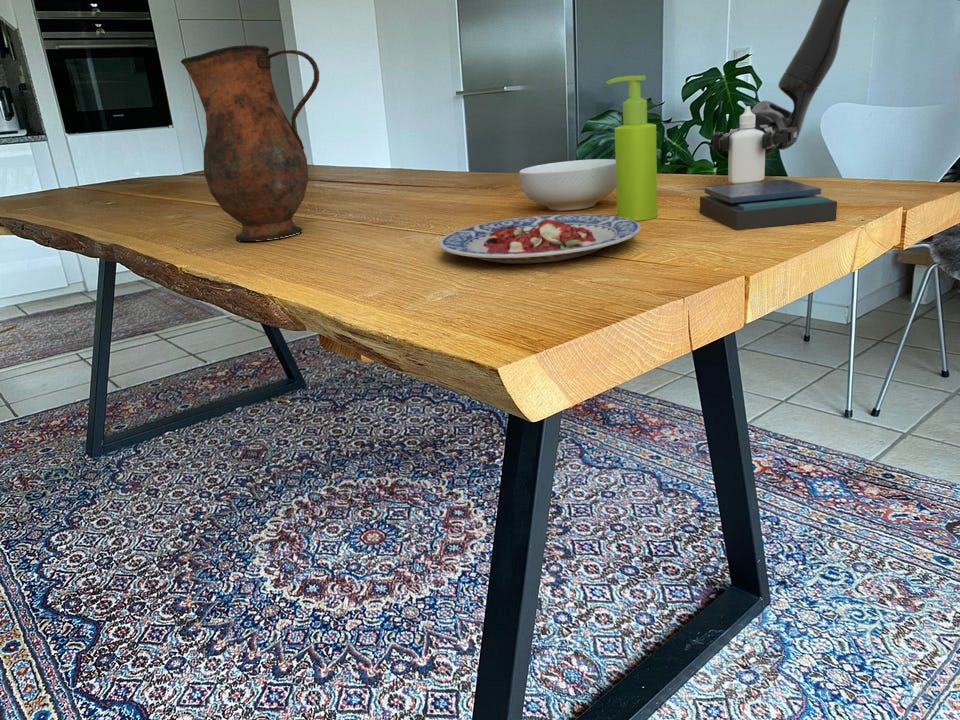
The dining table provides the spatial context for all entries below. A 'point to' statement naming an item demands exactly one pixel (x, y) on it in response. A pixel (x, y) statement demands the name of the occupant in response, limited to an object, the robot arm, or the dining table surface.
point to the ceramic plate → (539, 238)
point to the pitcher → (251, 140)
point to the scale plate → (762, 191)
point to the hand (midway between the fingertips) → (744, 143)
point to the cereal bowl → (569, 183)
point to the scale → (769, 211)
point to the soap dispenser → (635, 156)
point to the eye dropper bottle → (746, 152)
